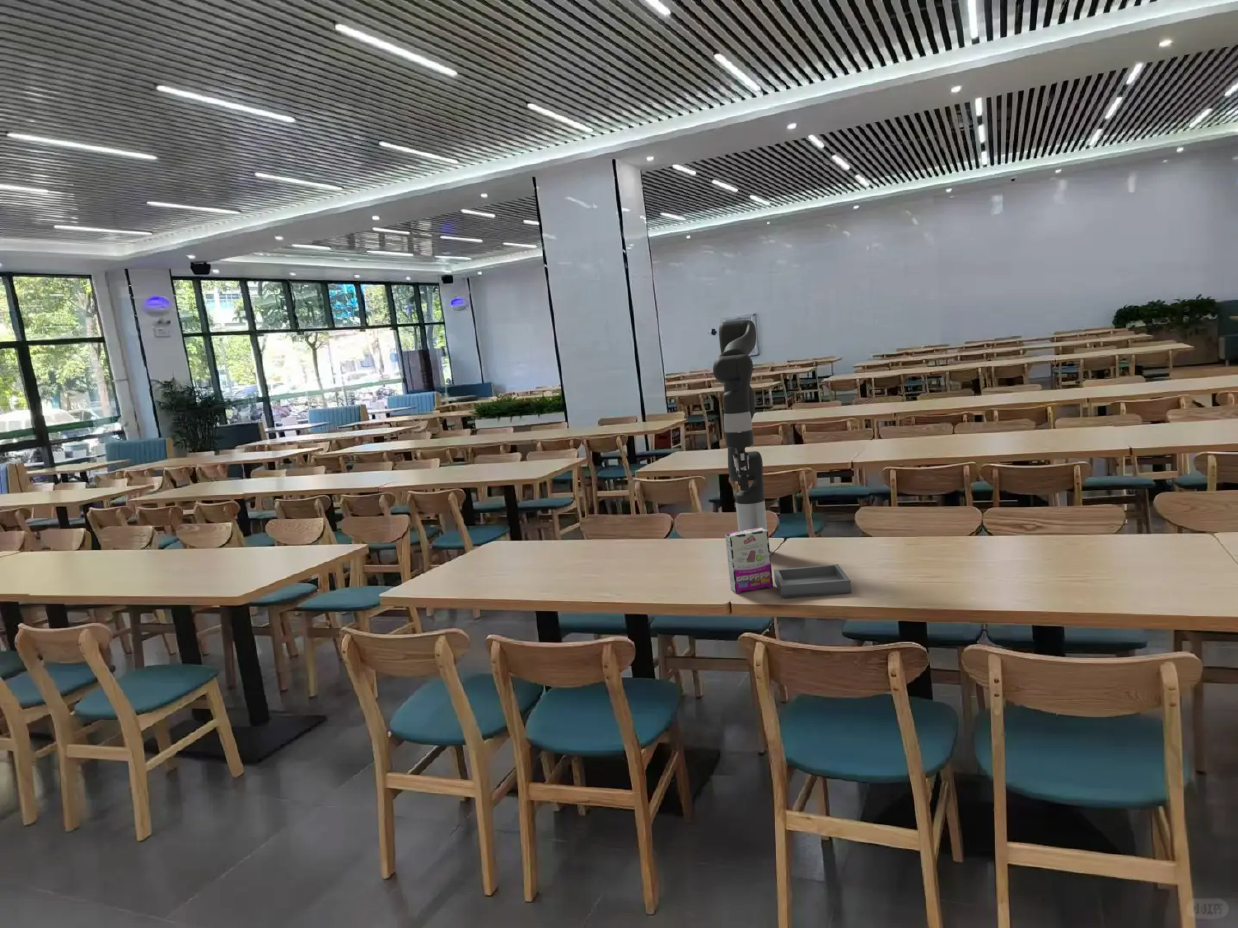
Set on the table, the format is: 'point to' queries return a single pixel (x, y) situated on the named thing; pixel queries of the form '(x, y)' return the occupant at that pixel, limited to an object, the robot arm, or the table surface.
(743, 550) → the candy bar box
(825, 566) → the tray
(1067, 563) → the table surface
